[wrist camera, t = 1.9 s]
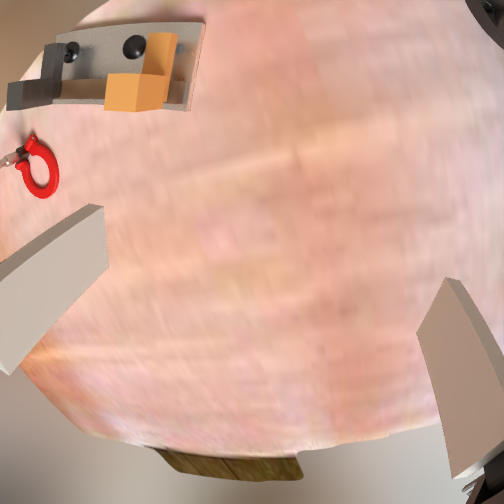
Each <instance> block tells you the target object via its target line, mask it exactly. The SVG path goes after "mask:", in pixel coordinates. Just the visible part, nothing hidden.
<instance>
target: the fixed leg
mask: <svg viewBox="0 0 504 504" xmlns="http://www.w3.org/2000/svg"><path fill="white" fill-rule="evenodd" d="M66 44H67V43H54V44H49V45H45V48H44V55H43V61H42V69H41V78H40V79H34V80H25V81H18V82H12V83H8V92H7V107H6V111H11V110H24V109H28V108H33V107H39V106H44V105H50V104H53V99H56V98H60V89H61V79H62V71H63V63H64V57H68V56H69V55H70V53H71V49H70V48H66Z"/></svg>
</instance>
